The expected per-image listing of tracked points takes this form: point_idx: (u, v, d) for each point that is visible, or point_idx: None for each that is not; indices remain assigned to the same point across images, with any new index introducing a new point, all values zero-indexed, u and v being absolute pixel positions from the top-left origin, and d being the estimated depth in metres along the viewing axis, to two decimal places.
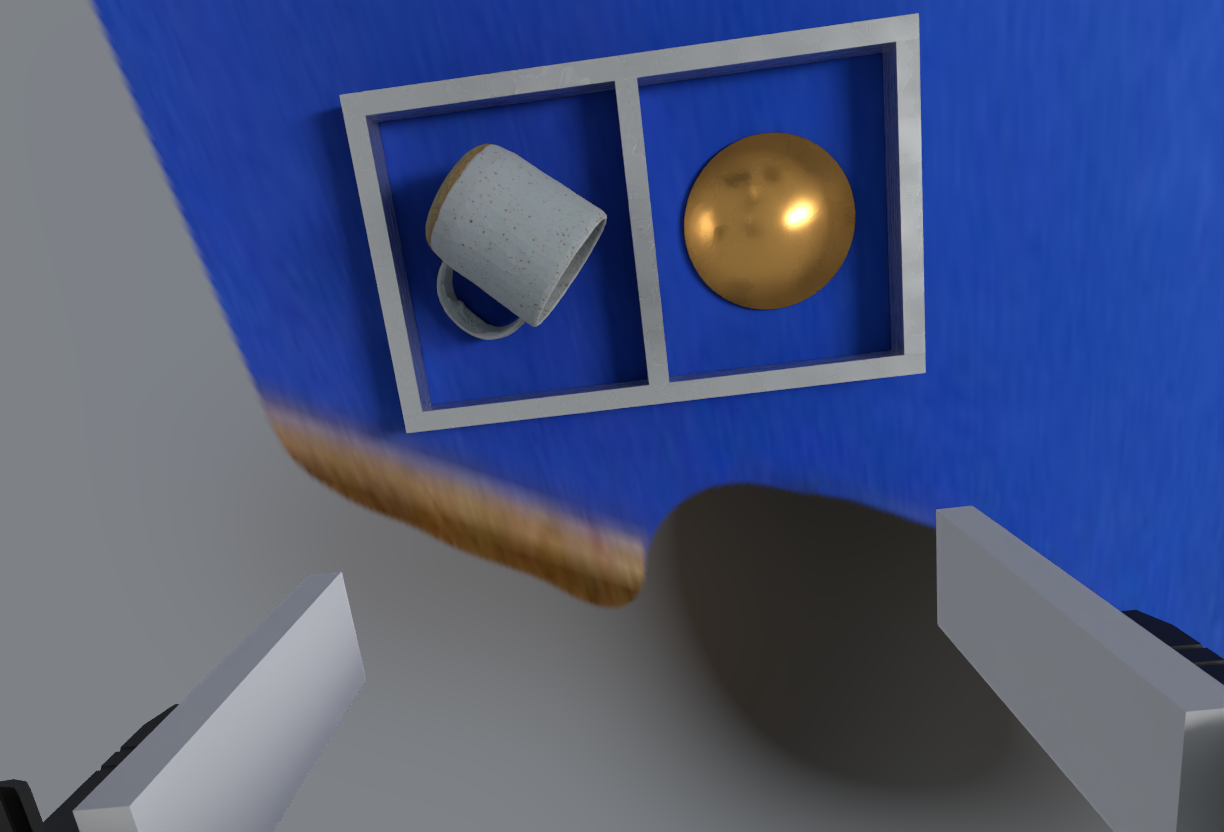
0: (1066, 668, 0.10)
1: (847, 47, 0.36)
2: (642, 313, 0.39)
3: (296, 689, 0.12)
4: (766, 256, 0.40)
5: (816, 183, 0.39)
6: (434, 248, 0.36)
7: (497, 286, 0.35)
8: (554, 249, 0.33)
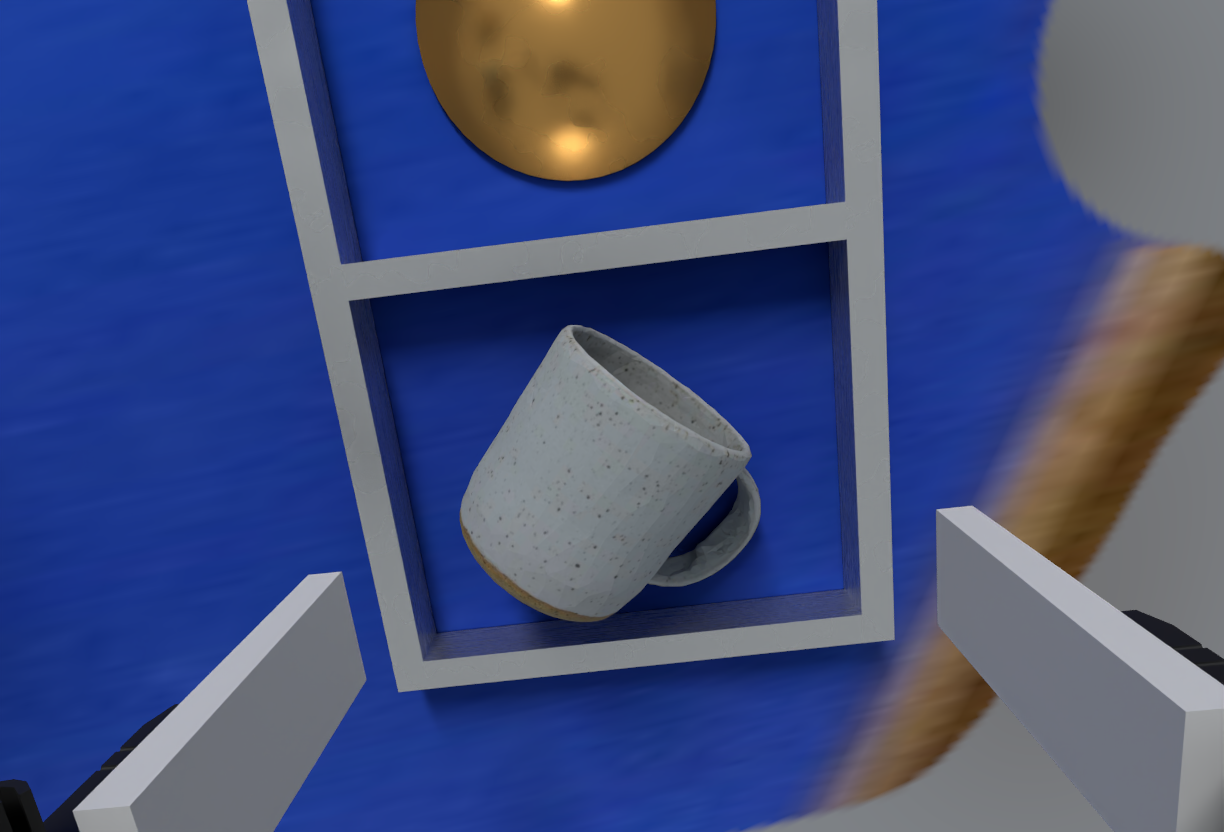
0: (1066, 668, 0.10)
1: None
2: (718, 252, 0.22)
3: (296, 689, 0.12)
4: (621, 25, 0.22)
5: None
6: (620, 608, 0.22)
7: (685, 521, 0.20)
8: (625, 431, 0.18)
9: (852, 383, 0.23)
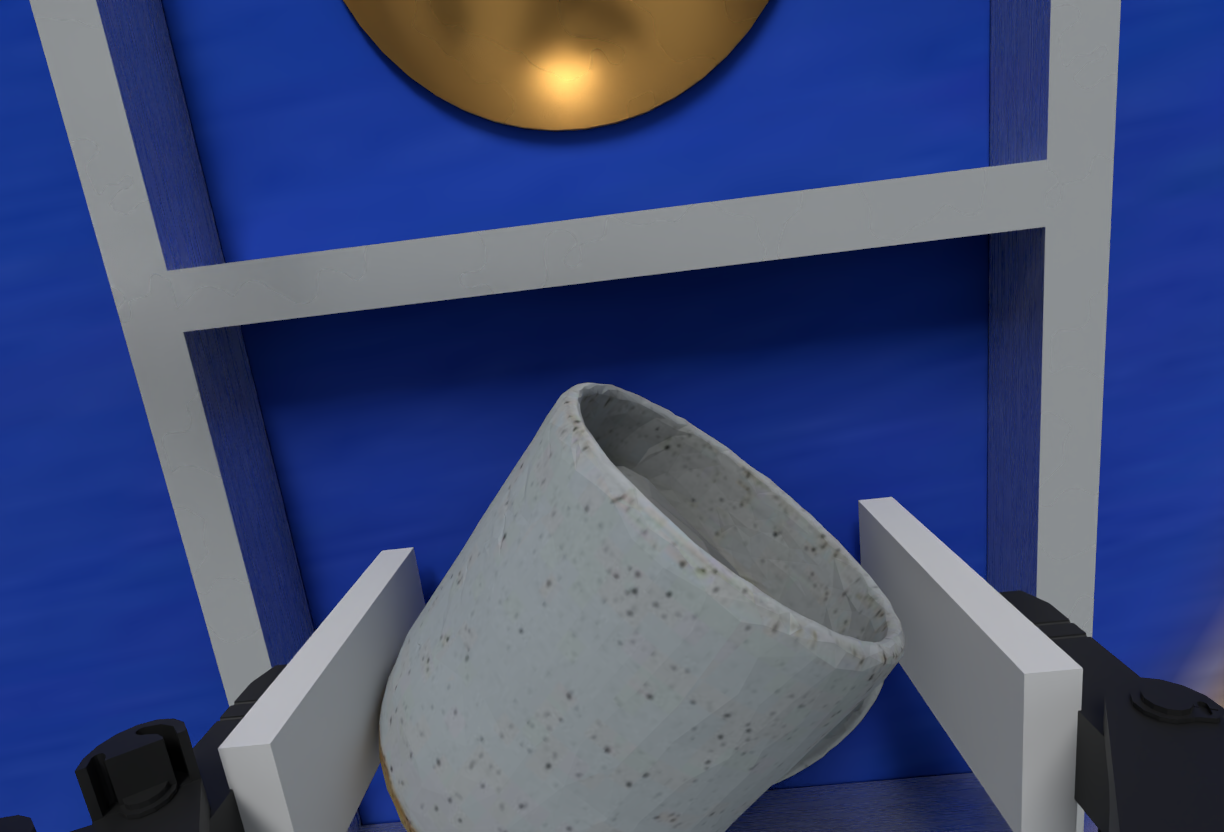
0: (948, 642, 0.11)
1: None
2: (817, 250, 0.13)
3: (383, 653, 0.13)
4: None
5: None
6: None
7: (788, 768, 0.11)
8: (686, 631, 0.09)
9: (1038, 472, 0.14)
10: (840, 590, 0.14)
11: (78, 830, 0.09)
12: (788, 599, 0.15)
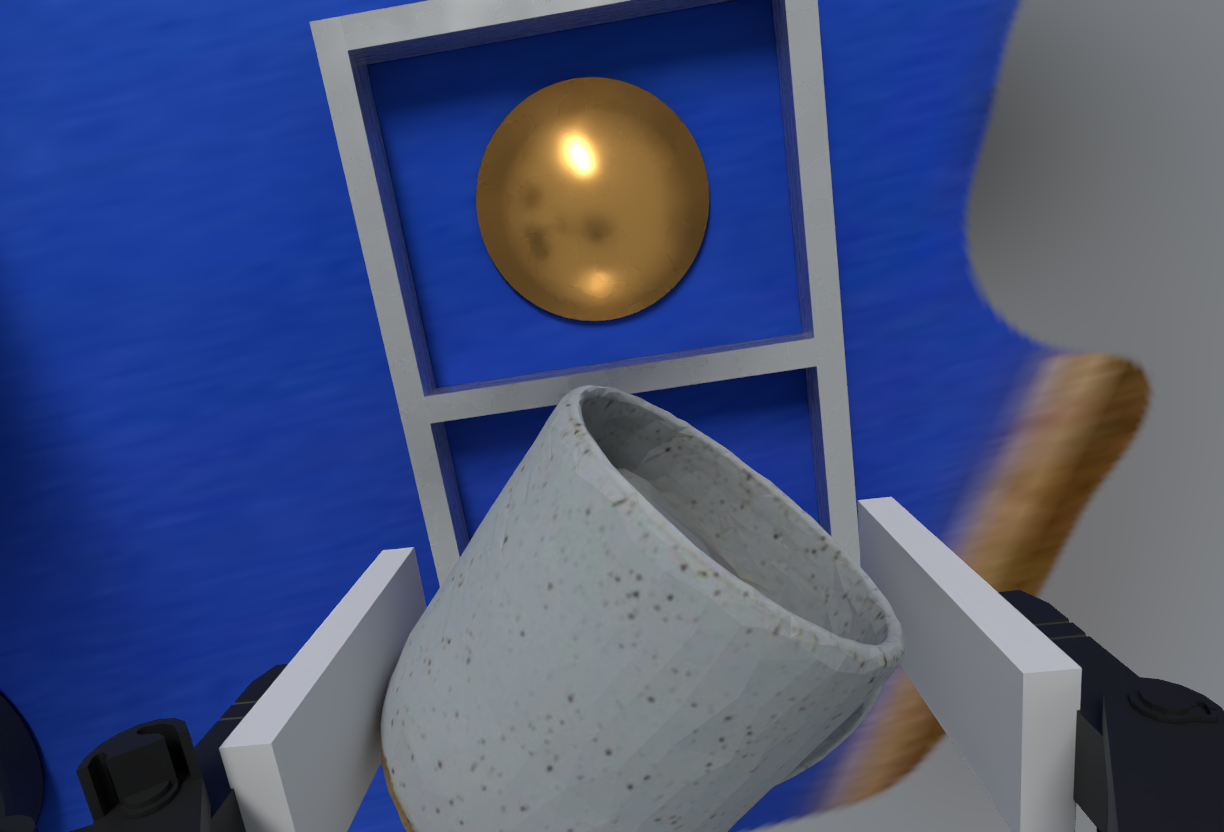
0: (947, 641, 0.11)
1: (362, 120, 0.27)
2: (716, 379, 0.29)
3: (384, 653, 0.13)
4: (635, 204, 0.29)
5: (536, 139, 0.29)
6: None
7: (789, 770, 0.11)
8: (688, 634, 0.09)
9: (826, 474, 0.30)
10: (840, 592, 0.14)
11: (79, 829, 0.09)
12: (788, 601, 0.15)
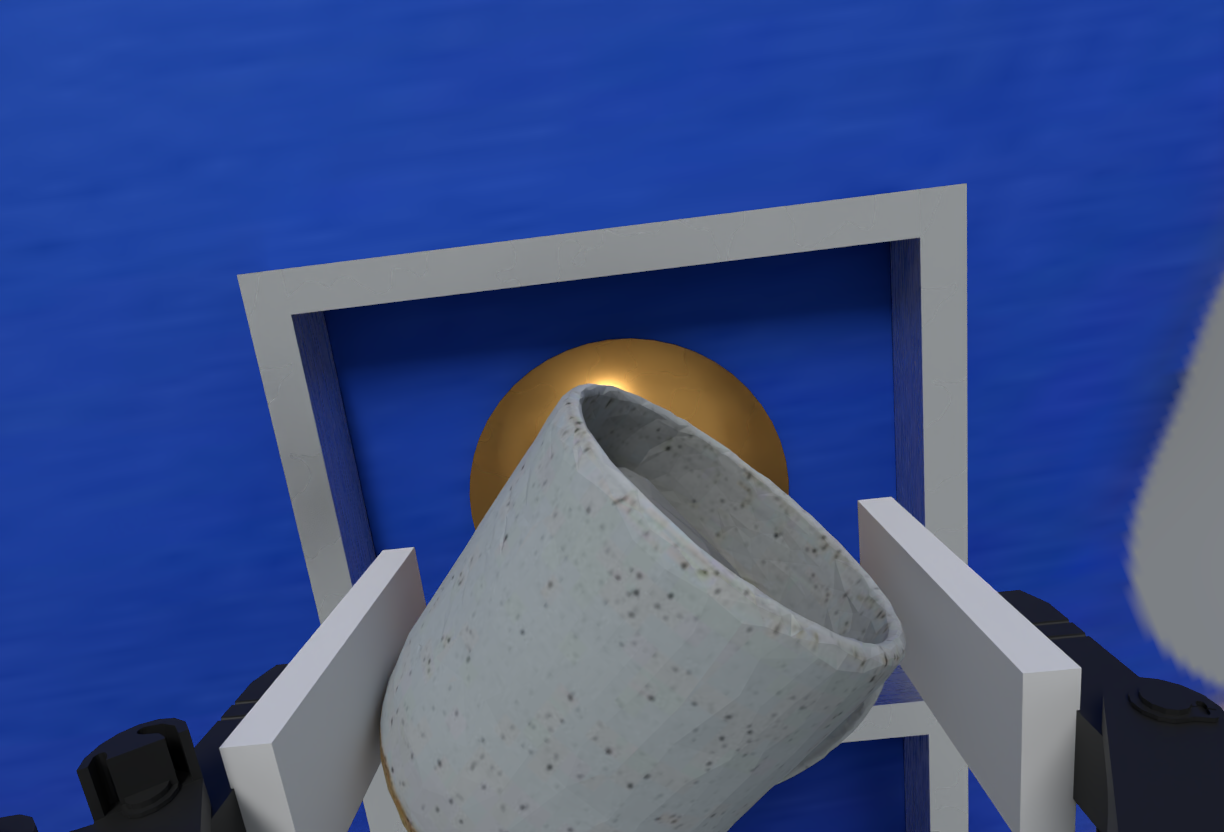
0: (947, 641, 0.11)
1: (310, 407, 0.19)
2: None
3: (384, 652, 0.13)
4: None
5: None
6: None
7: (789, 769, 0.11)
8: (688, 632, 0.09)
9: None
10: (841, 591, 0.14)
11: (79, 829, 0.09)
12: (789, 600, 0.15)
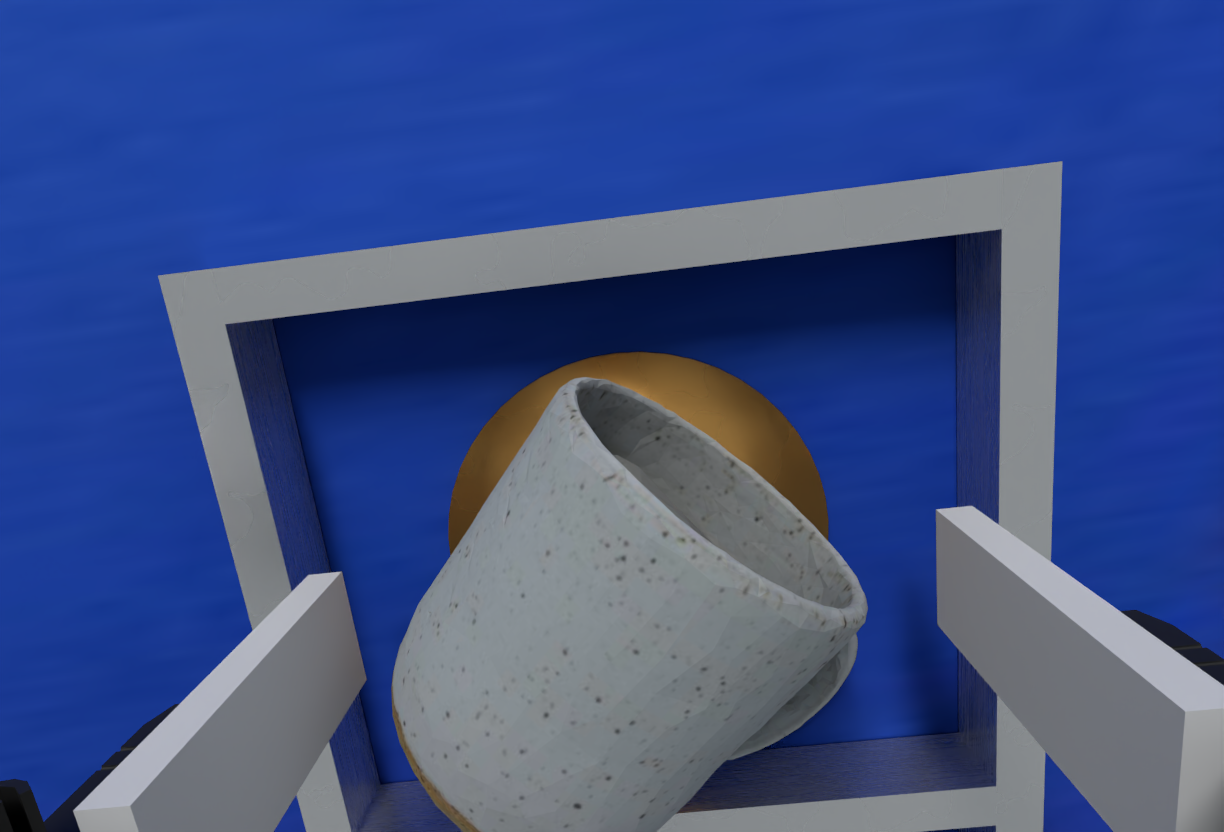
0: (1066, 668, 0.10)
1: (251, 436, 0.15)
2: None
3: (296, 689, 0.12)
4: None
5: None
6: None
7: (761, 722, 0.12)
8: (668, 593, 0.10)
9: None
10: (814, 569, 0.15)
11: None
12: (768, 578, 0.16)
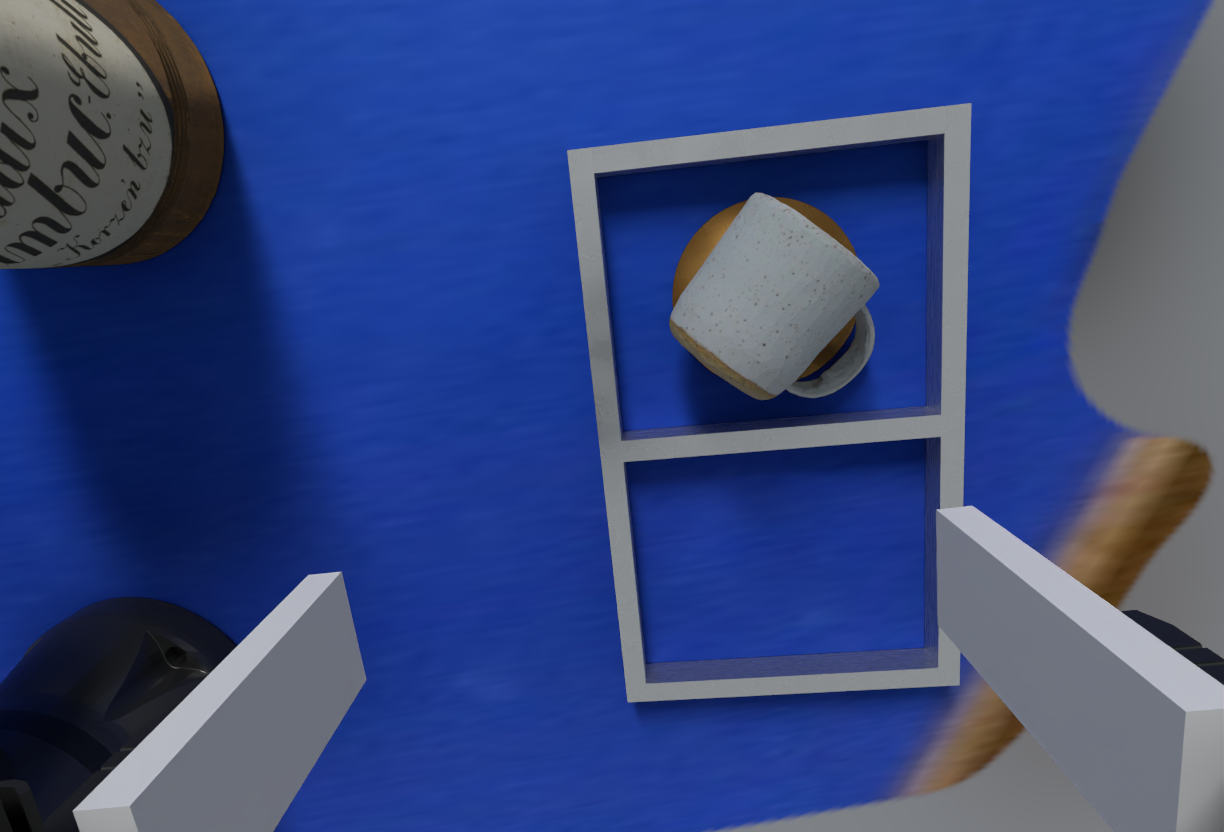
0: (1066, 668, 0.10)
1: (598, 226, 0.34)
2: (858, 441, 0.36)
3: (296, 689, 0.12)
4: None
5: None
6: (779, 391, 0.32)
7: (835, 322, 0.30)
8: (807, 248, 0.28)
9: None
10: None
11: None
12: None
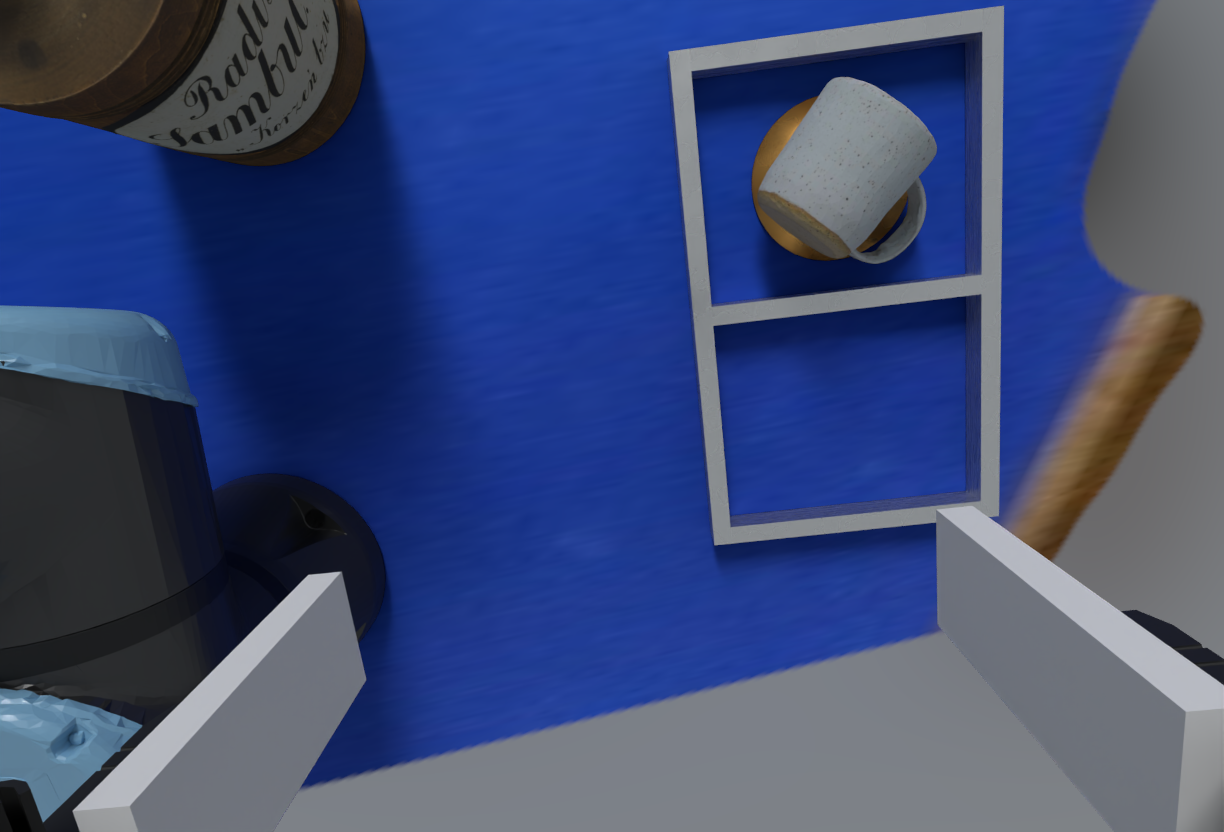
0: (1066, 668, 0.10)
1: (694, 117, 0.40)
2: (912, 301, 0.42)
3: (296, 689, 0.12)
4: None
5: None
6: (854, 247, 0.39)
7: (902, 182, 0.37)
8: (883, 115, 0.35)
9: (981, 370, 0.43)
10: None
11: None
12: None
